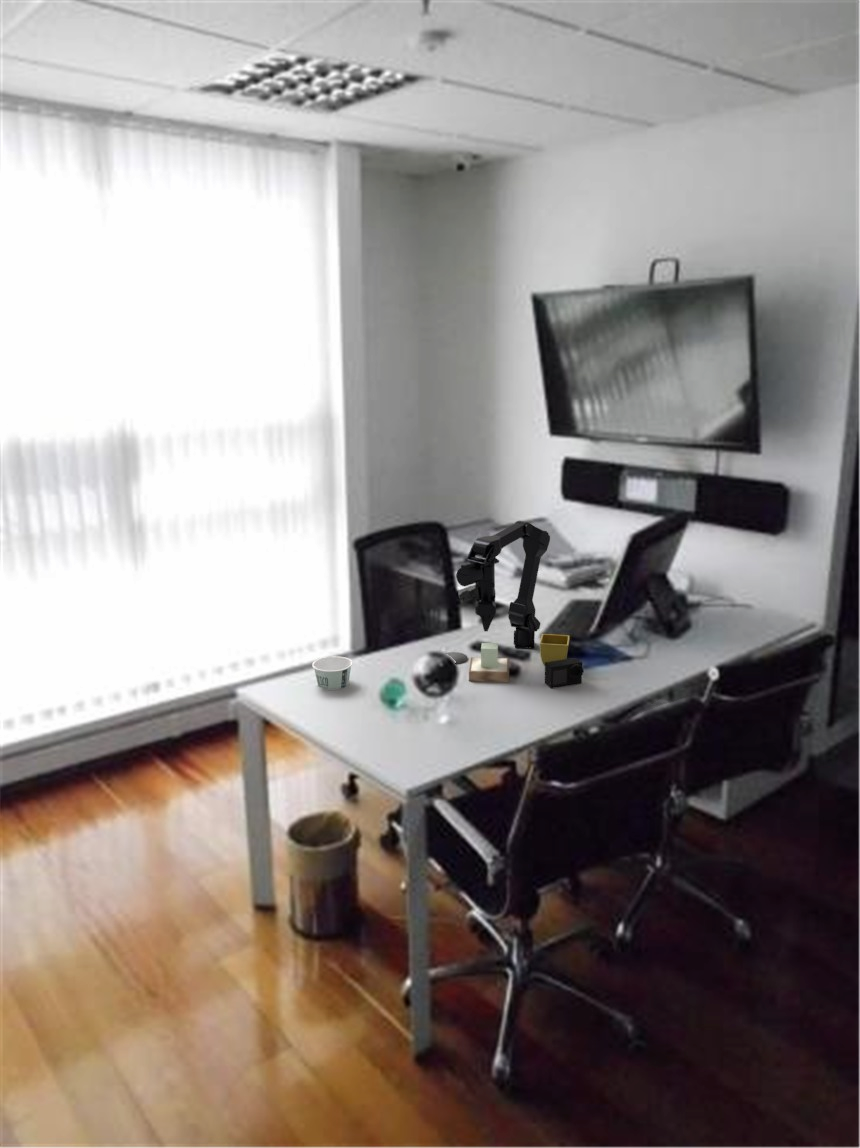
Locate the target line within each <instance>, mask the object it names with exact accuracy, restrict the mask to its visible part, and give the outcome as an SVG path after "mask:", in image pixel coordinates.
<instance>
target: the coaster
mask: <svg viewBox="0 0 860 1148" xmlns="http://www.w3.org/2000/svg"><path fill="white" fill-rule="evenodd" d="M444 653H445V654H448V655H449V656H451V657H452V658H453V659H454V660H455V661H456V663H457V664H456V665H458V664H463V663H465V662H467V661H468V656H467V654H465V653H462V652H457V651H450V652H444Z"/></svg>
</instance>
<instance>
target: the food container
mask: <svg viewBox="0 0 860 1148" xmlns="http://www.w3.org/2000/svg"><path fill="white" fill-rule="evenodd" d="M352 666H353V660H352V659H350V658H348V657H345V656H339V655H338V656H335V655H333V656H324V657H321V658H318V659H316V660H314V661H313V662H312V664H311V667H312V668H313V669H314V673H315V677H316V681H317V686H318V687H319V688H320V689H322V690H341V689H343V688H346V687H347V686H348V685H349V683H350V675H351V669H352Z"/></svg>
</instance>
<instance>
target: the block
mask: <svg viewBox="0 0 860 1148" xmlns="http://www.w3.org/2000/svg"><path fill="white" fill-rule="evenodd" d="M480 658H481V667H492V668H497V666H498V658H499V643H498V642H497V643H496V642H493V643H492V642H481V647H480Z"/></svg>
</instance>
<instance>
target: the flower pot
mask: <svg viewBox="0 0 860 1148" xmlns="http://www.w3.org/2000/svg"><path fill="white" fill-rule="evenodd" d="M570 638H571V637H570V635H569V634H568V635H567V634H566V635H565V634H554V633H553V634H551V633H549V634H548V633H542V634H541V638H540V641H539V652H540V659H541V662H542V665H543V666H544V667H545V662H550V661H557V660H564V659H568V651H569V644H570Z"/></svg>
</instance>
